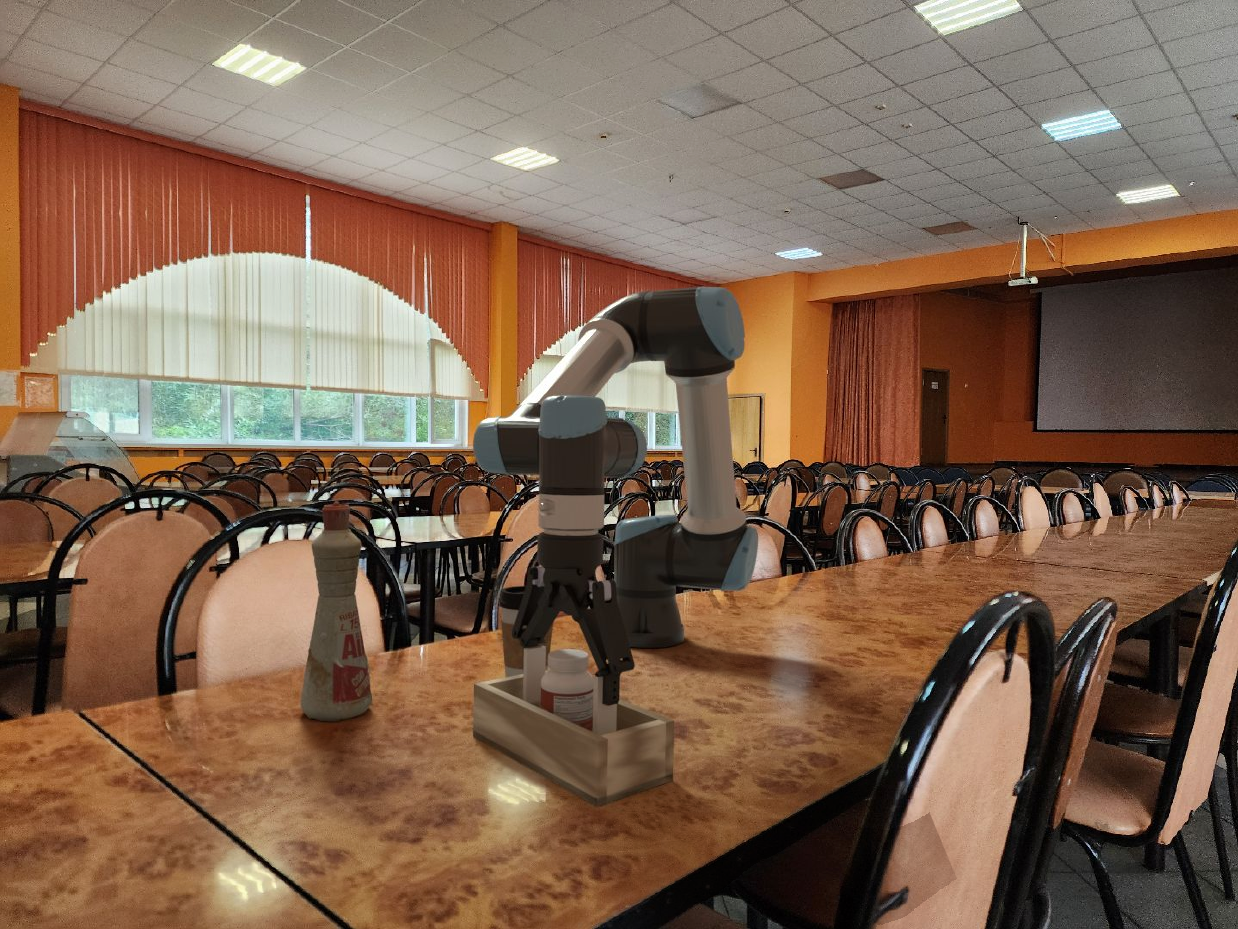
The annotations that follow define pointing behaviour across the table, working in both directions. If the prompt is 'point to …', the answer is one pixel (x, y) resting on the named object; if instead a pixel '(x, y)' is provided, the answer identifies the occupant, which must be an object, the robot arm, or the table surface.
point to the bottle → (336, 627)
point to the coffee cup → (511, 646)
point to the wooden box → (576, 743)
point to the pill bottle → (569, 687)
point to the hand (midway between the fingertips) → (567, 716)
